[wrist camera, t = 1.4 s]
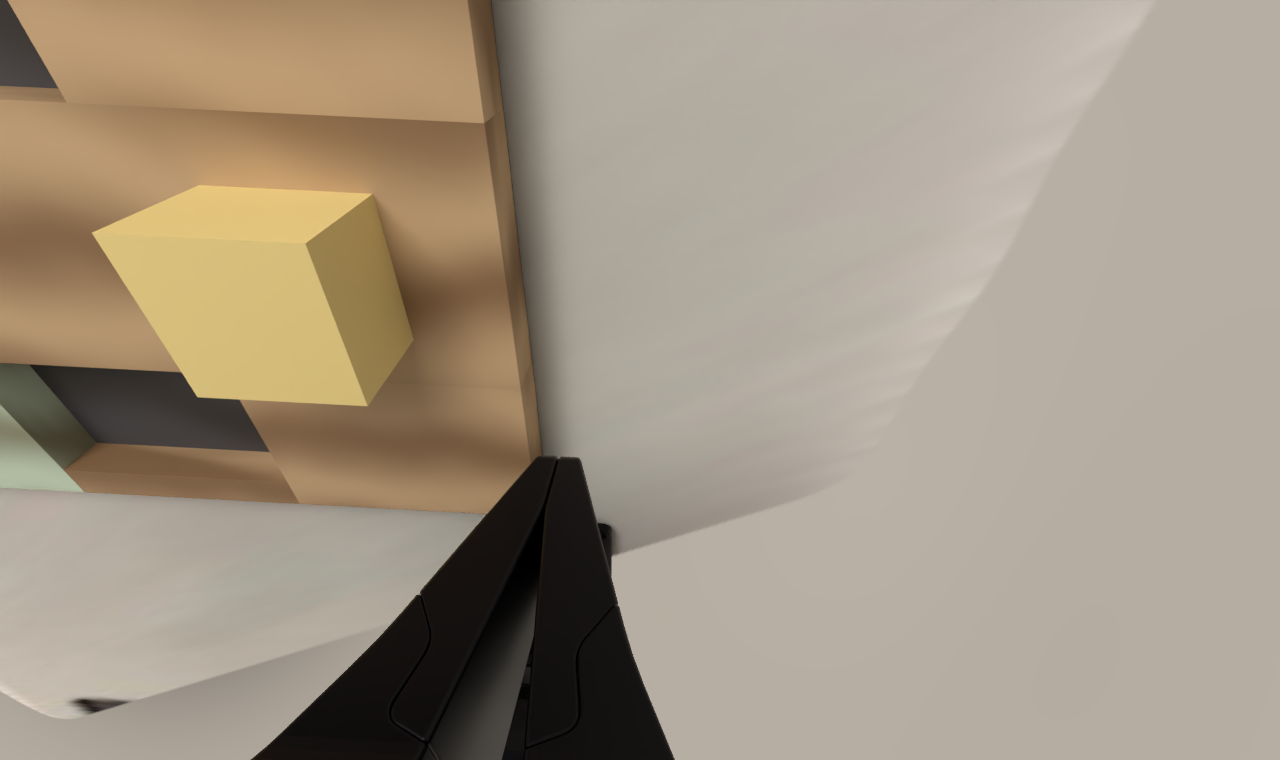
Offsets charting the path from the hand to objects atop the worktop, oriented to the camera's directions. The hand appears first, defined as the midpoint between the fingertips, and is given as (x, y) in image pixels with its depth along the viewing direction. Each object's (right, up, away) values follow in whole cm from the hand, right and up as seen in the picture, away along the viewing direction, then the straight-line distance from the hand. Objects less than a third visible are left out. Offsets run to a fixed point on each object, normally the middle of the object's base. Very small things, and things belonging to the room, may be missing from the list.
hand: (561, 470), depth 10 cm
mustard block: (-9, +5, +6) cm, 12 cm away
